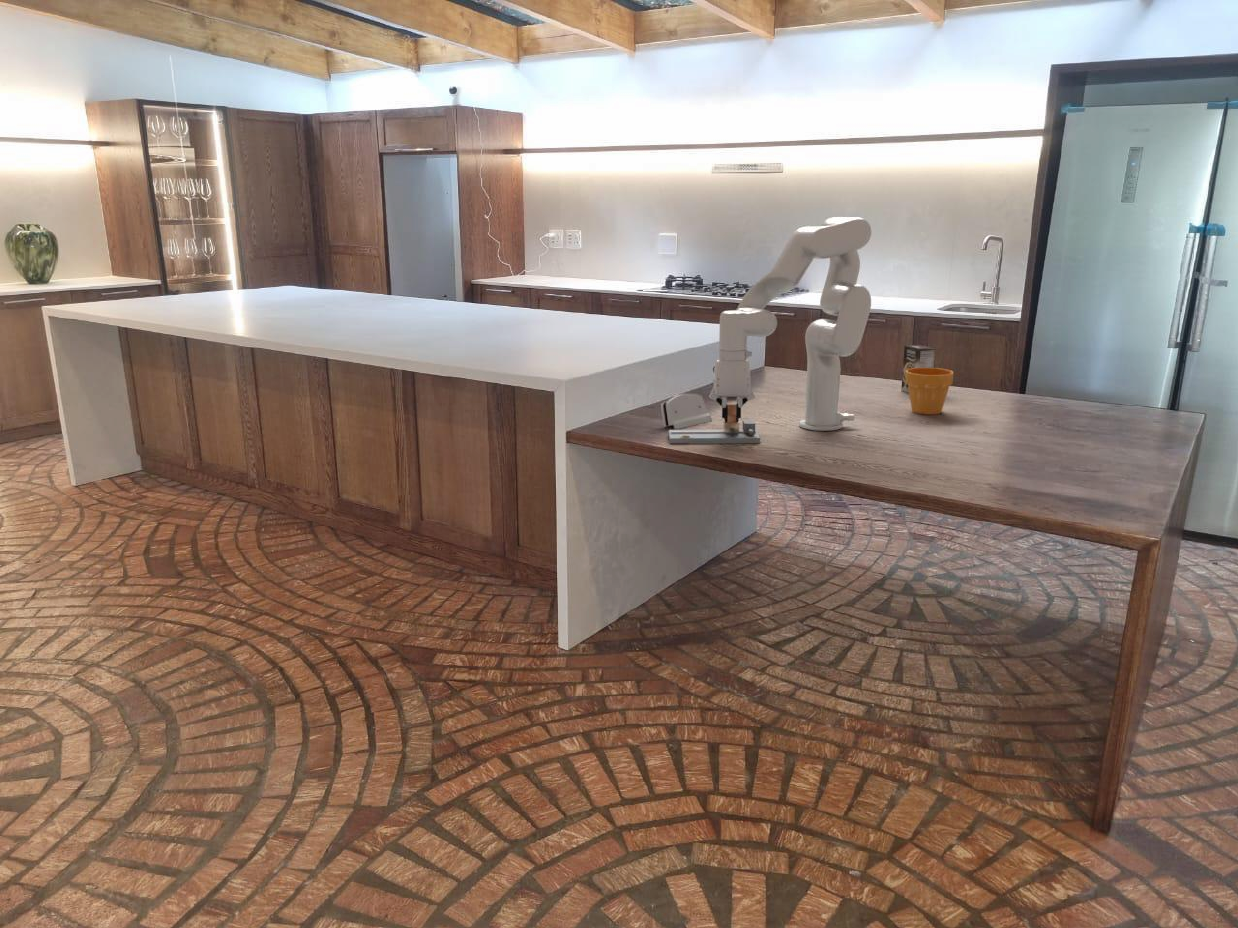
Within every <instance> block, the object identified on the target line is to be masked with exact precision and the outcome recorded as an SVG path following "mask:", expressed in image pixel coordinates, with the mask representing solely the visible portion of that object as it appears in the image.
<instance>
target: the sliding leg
mask: <svg viewBox="0 0 1238 928" xmlns="http://www.w3.org/2000/svg"><path fill="white" fill-rule="evenodd" d="M726 404H727V408H728V421H727V422H725V420H724V419H722V420H723V421H722V422H723V423H722V429H724V431H725V432H731V436H734V434H735V432H739V429H740V421H738V422H737V421H736V404H737V403H735V402H734V403H730V402H729V403H727V402H726Z"/></svg>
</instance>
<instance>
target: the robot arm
mask: <svg viewBox="0 0 1238 928" xmlns="http://www.w3.org/2000/svg"><path fill="white" fill-rule="evenodd" d="M871 236H872V227H871V225H870V223H869V221H867V220H866V219H865V218H862V217H855V216H853V217H852V216H850V217H847V216H838V217H837V216H835V217H830V218H827V219H825V220H824V221H823V222H822V223H821V225H820V226H803V227H800V228H797V229H796V230H795V231H794V232H793V233H792V234H791V236H790V238H789V239H788V242H787V243H786V244H785V246H784V247H783V250H782V251H781V253H780V255H779V256H778V258H777V259H776V261H775V263H774V264H773V265H772V267H771V269H770V270H769V271H768V272H767V273H766V274H765V275H763V276H762V277H761V278H760V279H759V280H758V281H756V283H754V284H753V285H752V286H751V287H750V288H749V290H748V291H747V292H746V293H745V295H744V296H743V298H742V299H741V301H739V304H738V305H737V308H736V309H734V310H731V309H730V310H724V311H722V312H721V313H720V316H719V346H718V359H717V360H716V361H715V365H714V366H715V368H714V372H713V387H712V390H711V392H710V394H709V395H708V397H709V399H710V400H713V401H715V402H717V403H718V405H720V406H721V407H722V408H721V418H722V419H723V420H725V422H727V421H728V408H727V398H729V397H731V398H733V397H734V398H736V403H735V404H736V421H737V422H740V420H739V419H741V418H742V407H743V406H744V405H745V404H746V403H747V402H748V401H751V400H753V399H755V394H754V391H753V389H752V388H751V369H750V363H749V362H750V361H749V360H748V359H747V358H749V357H752V356H753V355H752V354H753V352H752V351H749V350H747V348H748V347H747V345H748V337H756V338H764V337H768V336H770V335H772V334H773V333H774V332H775V331H776V329H777V327H778V320H777V316H775V314H774V313H773V312H771V311H770V310H768V309H765V308H766V306H767V305H768V304H770V302H771V301H773V300H774V299H775V298H777V297H779V296H781V295H783V294H786V293H788V292H789V291H791V290H793V289H795V288H796V287H797V286H798V285H799V283H800V282H801V280H802V279H803V277H804V275H805V273H806V271H808V268H809V266H810V265H811V264H812V262H813V261H814V259H819V260H823V259H829V266H828V271H827V274H826V277H825V278H826V279H825V283H824V285H823V289H822V292H821V294H820V295H821V296H820V300H819V302H820V304H819V306H820V309H821V310H822V311H823V312H824V313H825V314H827V315H831V316H836V317H837V319H836V320H835V319H829V318H820V319H816V320H814V321H812V322H811V323H810V324H809V325H808V327H807V328H806V331H805V337H804V339H805V340H804V341H805V349H806V356H807V357H806V358H807V361H806V362H807V366H806V367H807V369H806V386H805V389H806V390H805V409H804V410H805V411H804V418H803V419H801V420H799V423H798V425H799V427H801V428H803V429H806V430H811V431H817V432H818V431H820V432H823V431H824V432H825V431H829V432H830V431H837V430H841V429H843V426H844V424H843V422H845V421H848V422H854V421H855V414H852V413H851V414H850V413H841V412H840V411H839V406H840V405H839V402H840V383H841V370H842V367H841V361H840V360H841V359H840V357H842V358H843V357H844V358H845V357H849V356H851V355H853V354H854V353H855V352H856V351H857V350H858V348H859V347H860V344H861V342H862V339H863V336H864V332H865V330H866V325H867V324H868V323H867V322H868V319H869V316H870V313H871V307H872V296H871V293H870V291H869V289H868V288H867V287H865V286H864V285H862V284H859V283H857V282H858V277H859V275H860V274H859V273H860V268H861V259H860V255H859V252H858V250H860V249H862V248H863V247H865V246H866V245H867V244H868V243H869V242H870V240H871Z"/></svg>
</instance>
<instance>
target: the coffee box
mask: <svg viewBox="0 0 1238 928" xmlns="http://www.w3.org/2000/svg"><path fill="white" fill-rule="evenodd" d="M935 352H936V348H934V347H929V346H924V345H921V344H908V345H907V344H906V345H904V349H903V362H902V373H901V375H902V377H901V387H900V388H901V392H905V393H908V394H909V388H908V384H907V383H906V382H905V377H906V370H908V369H911V368H934V364H935V363H934V362H935V354H936V353H935Z"/></svg>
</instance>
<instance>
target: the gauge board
mask: <svg viewBox="0 0 1238 928" xmlns="http://www.w3.org/2000/svg"><path fill="white" fill-rule="evenodd" d="M668 440H669V444H670V443H690V444H760V443H761V437H760V435H759V433H758V430H757V429H756V422H755V419H742V429H740V428H739V432H735V434H734V436H731V432H725V431H724V429H723V428H722V429H669V430H668Z"/></svg>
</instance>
